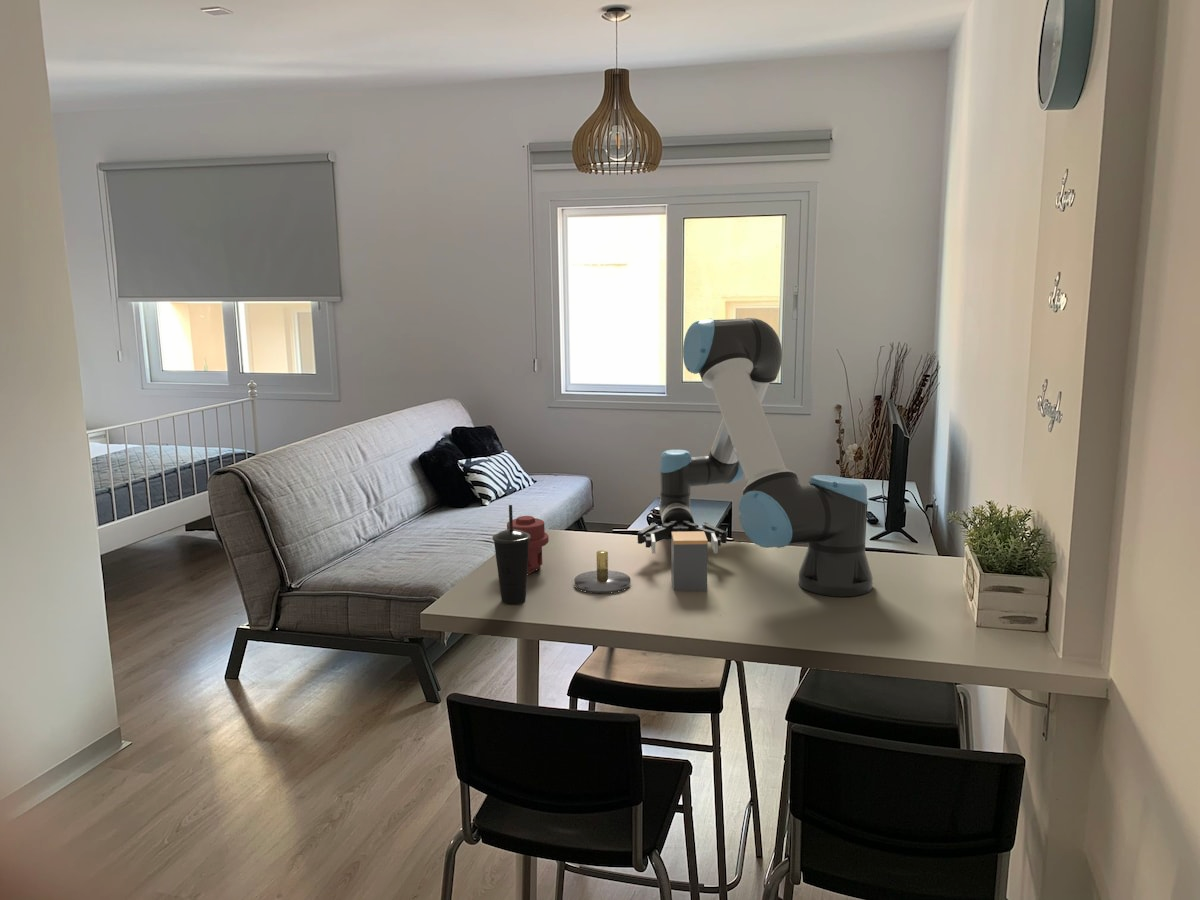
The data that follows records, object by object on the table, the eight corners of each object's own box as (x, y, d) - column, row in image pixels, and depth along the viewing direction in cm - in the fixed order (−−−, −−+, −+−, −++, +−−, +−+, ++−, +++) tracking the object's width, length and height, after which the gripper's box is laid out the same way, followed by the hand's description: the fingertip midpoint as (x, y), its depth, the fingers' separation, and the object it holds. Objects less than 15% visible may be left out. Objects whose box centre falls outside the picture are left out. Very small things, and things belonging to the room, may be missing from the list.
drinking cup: (499, 593, 188) (496, 500, 185) (535, 595, 187) (533, 501, 184) (490, 606, 181) (486, 509, 177) (527, 608, 180) (525, 510, 176)
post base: (636, 577, 197) (636, 546, 196) (622, 595, 186) (622, 562, 185) (583, 573, 200) (583, 542, 199) (567, 591, 189) (566, 558, 188)
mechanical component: (550, 564, 208) (547, 577, 198) (507, 564, 208) (502, 578, 198) (549, 512, 206) (546, 523, 196) (505, 512, 206) (500, 523, 196)
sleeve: (703, 579, 196) (704, 531, 194) (707, 590, 189) (707, 540, 187) (671, 579, 196) (671, 531, 194) (673, 590, 189) (673, 540, 187)
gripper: (729, 536, 219) (741, 563, 198) (626, 537, 219) (628, 564, 198) (729, 506, 217) (742, 530, 197) (626, 507, 218) (627, 531, 197)
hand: (684, 547), depth 197 cm, fingers open, 13 cm apart
